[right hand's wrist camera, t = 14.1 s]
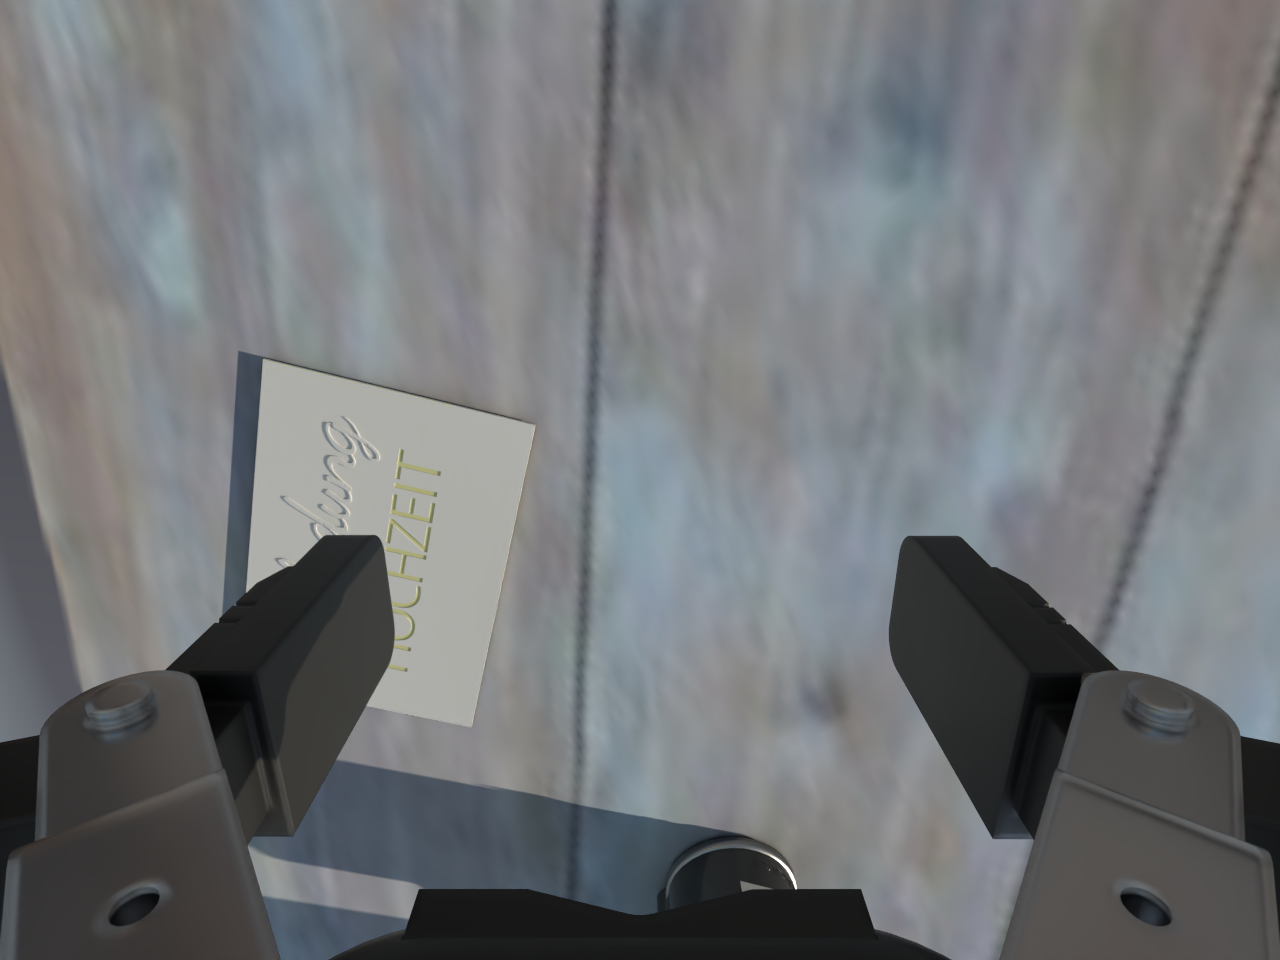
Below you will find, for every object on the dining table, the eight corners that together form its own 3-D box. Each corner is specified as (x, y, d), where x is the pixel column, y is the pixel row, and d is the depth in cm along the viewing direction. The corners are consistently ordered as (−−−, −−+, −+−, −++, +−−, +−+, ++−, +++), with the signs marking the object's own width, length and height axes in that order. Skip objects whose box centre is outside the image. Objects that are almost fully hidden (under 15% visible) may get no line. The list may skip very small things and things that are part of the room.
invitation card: (470, 728, 47) (238, 680, 46) (471, 725, 47) (241, 678, 46) (535, 425, 40) (262, 359, 38) (535, 424, 40) (264, 358, 39)
